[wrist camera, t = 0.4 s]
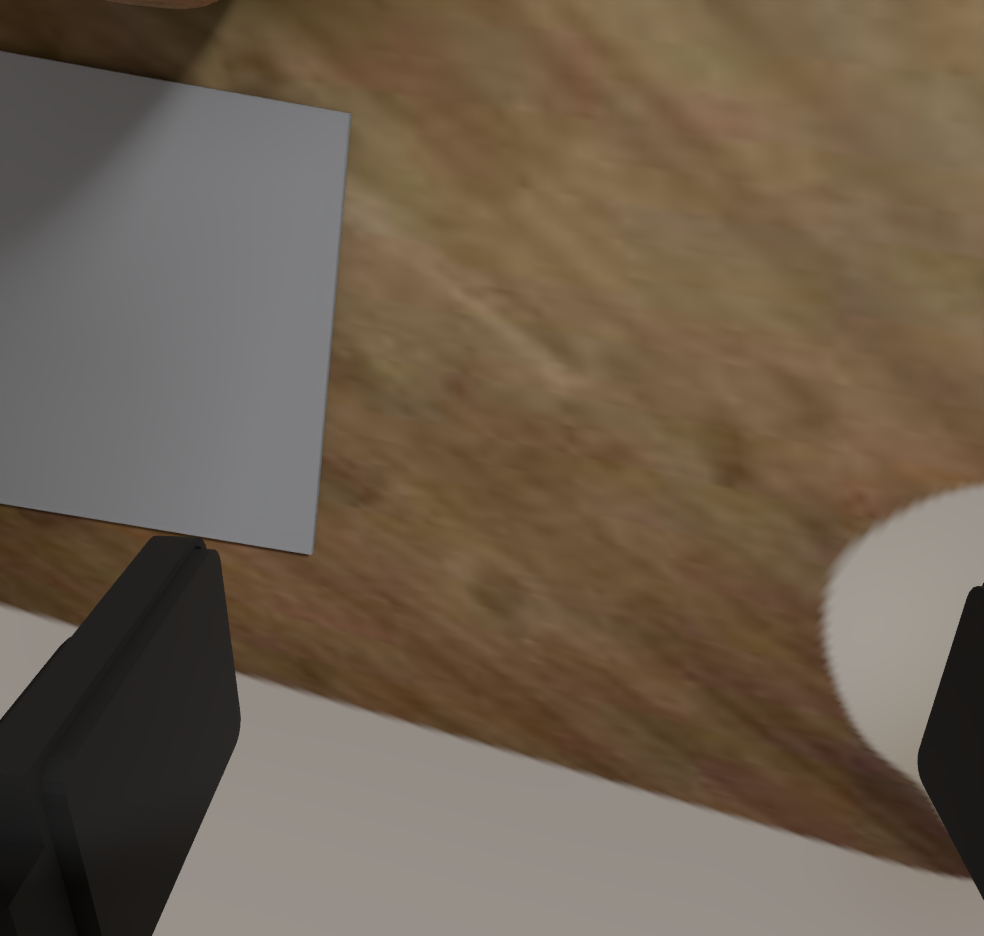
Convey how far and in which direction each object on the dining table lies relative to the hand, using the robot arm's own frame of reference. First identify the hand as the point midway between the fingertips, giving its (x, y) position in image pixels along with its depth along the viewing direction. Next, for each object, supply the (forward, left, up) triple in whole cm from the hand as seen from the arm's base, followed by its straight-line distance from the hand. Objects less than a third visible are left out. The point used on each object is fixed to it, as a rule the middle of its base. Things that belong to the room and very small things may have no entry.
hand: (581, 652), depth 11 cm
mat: (+8, -18, -31) cm, 36 cm away
